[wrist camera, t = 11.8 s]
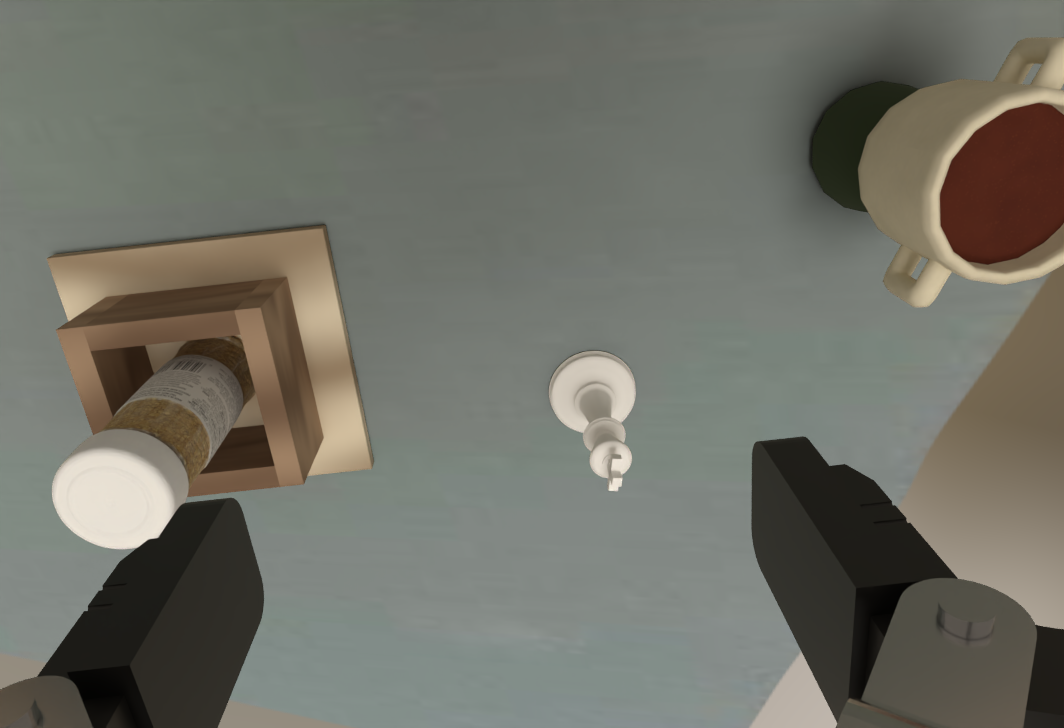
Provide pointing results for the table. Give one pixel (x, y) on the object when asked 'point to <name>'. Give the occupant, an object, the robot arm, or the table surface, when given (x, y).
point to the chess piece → (596, 408)
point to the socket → (217, 311)
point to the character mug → (956, 171)
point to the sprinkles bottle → (154, 446)
